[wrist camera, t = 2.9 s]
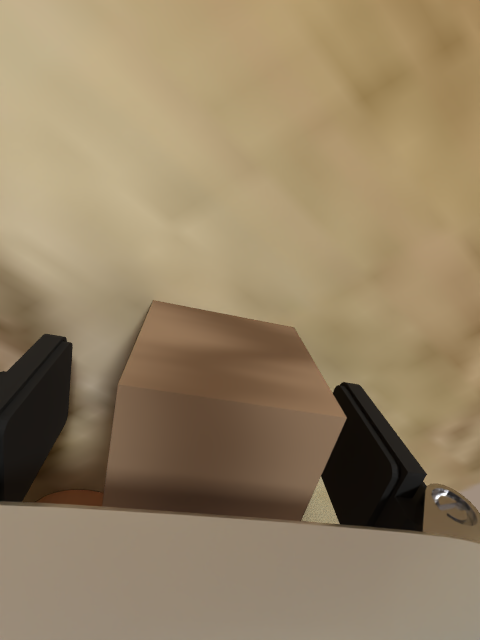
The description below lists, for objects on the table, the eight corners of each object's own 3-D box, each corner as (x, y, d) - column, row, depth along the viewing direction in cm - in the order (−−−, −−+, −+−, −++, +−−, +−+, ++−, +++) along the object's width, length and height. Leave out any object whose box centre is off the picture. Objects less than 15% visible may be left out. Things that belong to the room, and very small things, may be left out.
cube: (293, 326, 12) (347, 417, 8) (257, 434, 14) (283, 560, 9) (153, 299, 11) (118, 383, 7) (134, 417, 13) (96, 549, 8)
